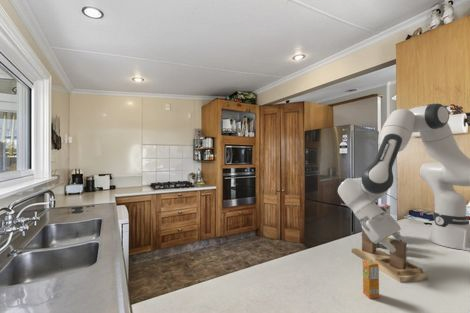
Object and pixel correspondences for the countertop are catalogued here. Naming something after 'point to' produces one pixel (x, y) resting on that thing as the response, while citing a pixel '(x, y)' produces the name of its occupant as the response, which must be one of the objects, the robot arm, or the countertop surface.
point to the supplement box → (371, 279)
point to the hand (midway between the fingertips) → (399, 248)
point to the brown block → (398, 255)
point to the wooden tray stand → (388, 262)
